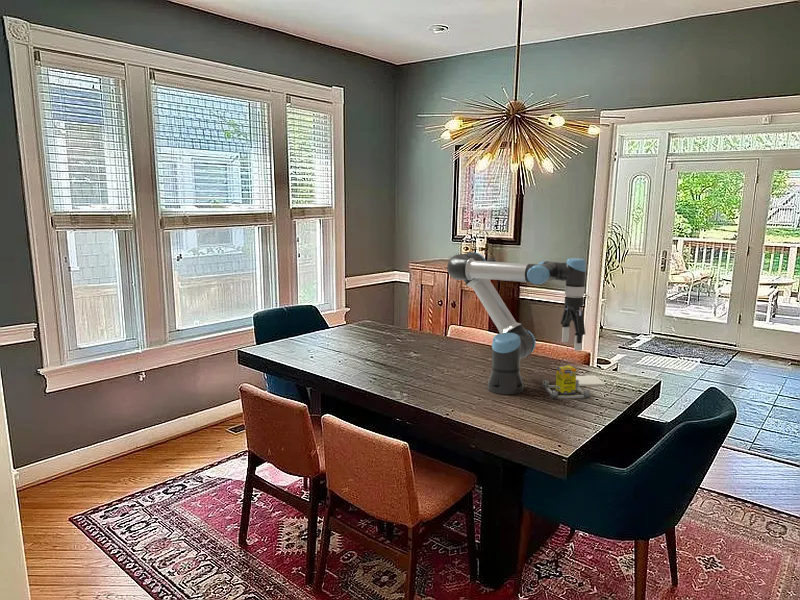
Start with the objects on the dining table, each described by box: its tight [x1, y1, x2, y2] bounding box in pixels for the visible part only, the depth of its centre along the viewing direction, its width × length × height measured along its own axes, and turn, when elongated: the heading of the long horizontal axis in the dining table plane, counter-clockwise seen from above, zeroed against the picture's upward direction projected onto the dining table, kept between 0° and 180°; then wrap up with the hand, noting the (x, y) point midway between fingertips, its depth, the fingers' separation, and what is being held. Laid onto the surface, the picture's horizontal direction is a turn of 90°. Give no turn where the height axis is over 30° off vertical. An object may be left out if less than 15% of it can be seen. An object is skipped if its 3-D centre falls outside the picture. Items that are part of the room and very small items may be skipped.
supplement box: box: [555, 364, 577, 395], centre depth 228 cm, size 6×6×11 cm
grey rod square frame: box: [542, 379, 591, 400], centre depth 229 cm, size 15×15×3 cm
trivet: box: [576, 375, 606, 387], centre depth 243 cm, size 12×12×1 cm
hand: (571, 346), depth 229 cm, fingers open, 13 cm apart
